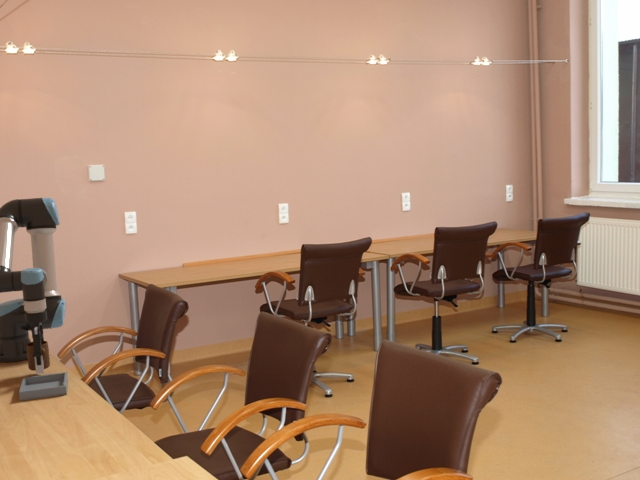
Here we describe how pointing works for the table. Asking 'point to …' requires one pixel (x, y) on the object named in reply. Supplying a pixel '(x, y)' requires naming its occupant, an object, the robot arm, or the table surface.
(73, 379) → the table surface
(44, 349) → the mug
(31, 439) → the table surface
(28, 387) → the tray
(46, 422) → the table surface
